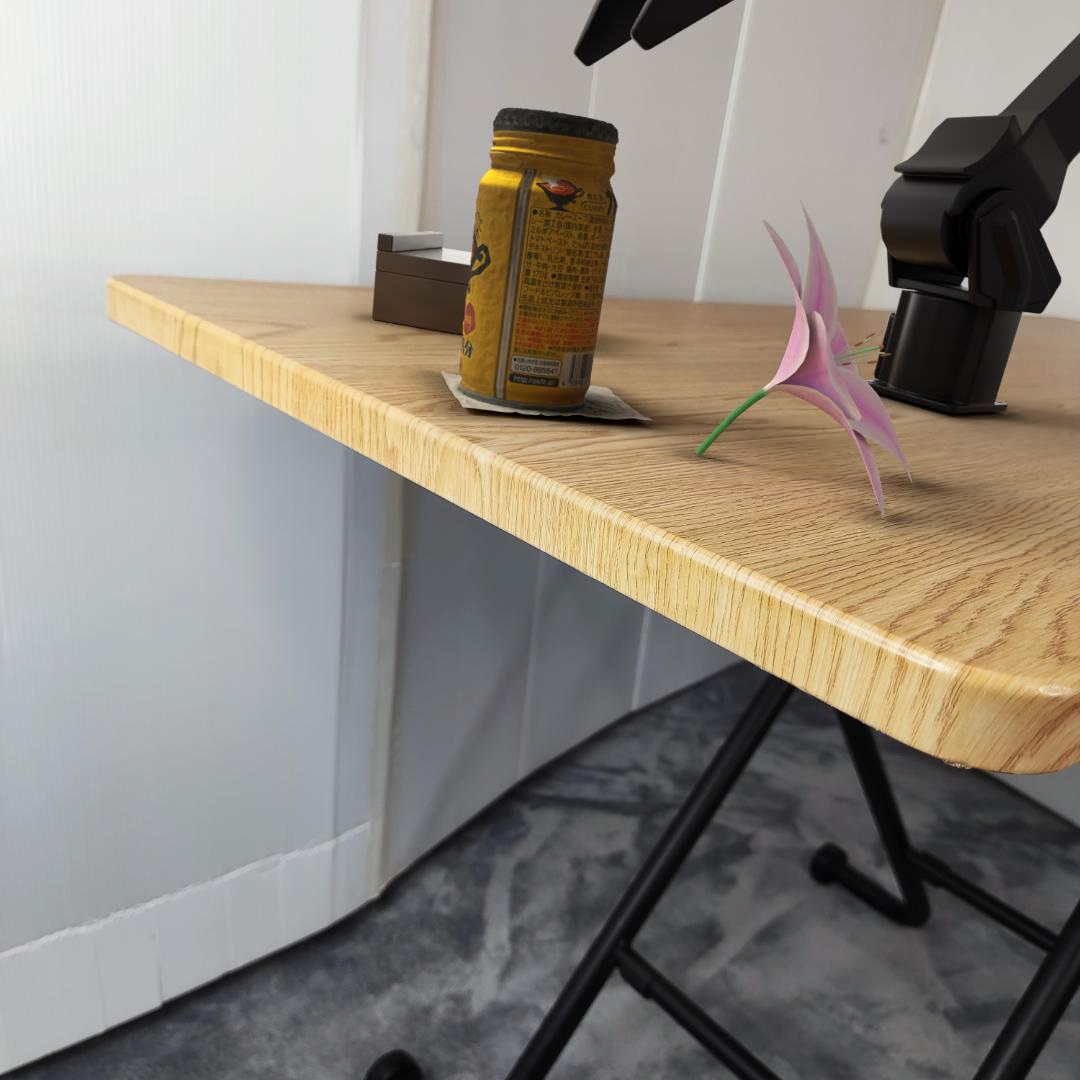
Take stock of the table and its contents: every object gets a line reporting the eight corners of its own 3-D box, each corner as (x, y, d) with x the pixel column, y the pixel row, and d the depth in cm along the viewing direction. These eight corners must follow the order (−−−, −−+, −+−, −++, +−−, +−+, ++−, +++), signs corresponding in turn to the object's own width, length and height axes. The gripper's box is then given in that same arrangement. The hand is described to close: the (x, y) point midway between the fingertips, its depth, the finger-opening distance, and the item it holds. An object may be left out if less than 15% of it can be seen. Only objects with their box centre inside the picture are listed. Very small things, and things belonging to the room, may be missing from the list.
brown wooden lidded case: (571, 330, 67) (582, 254, 65) (540, 348, 58) (552, 260, 56) (424, 305, 69) (431, 231, 67) (371, 319, 59) (377, 233, 58)
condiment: (439, 375, 46) (466, 106, 42) (606, 390, 48) (647, 136, 44) (461, 412, 39) (495, 97, 35) (652, 428, 41) (706, 133, 37)
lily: (738, 563, 30) (973, 321, 26) (554, 345, 36) (723, 126, 33) (878, 599, 39) (1067, 422, 35) (712, 420, 45) (857, 255, 42)
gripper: (634, -296, 49) (449, -42, 52) (814, -525, 33) (529, -134, 35) (769, -120, 54) (594, 106, 56) (988, -241, 37) (726, 87, 40)
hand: (606, 52), depth 47 cm, fingers open, 9 cm apart
